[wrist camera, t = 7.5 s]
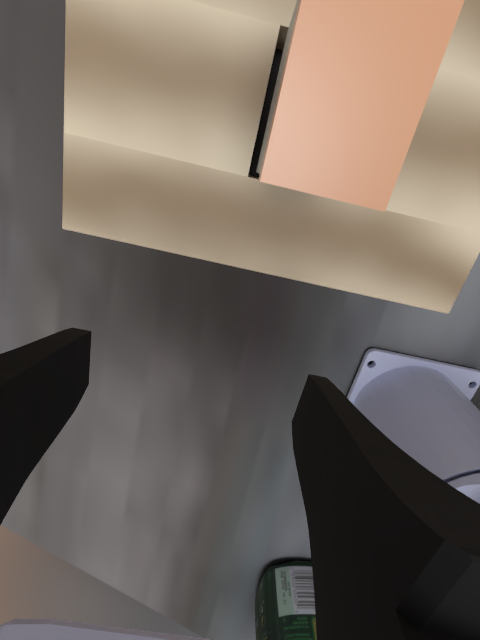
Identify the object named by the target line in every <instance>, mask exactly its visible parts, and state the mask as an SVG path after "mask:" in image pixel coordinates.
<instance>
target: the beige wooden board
mask: <svg viewBox="0 0 480 640" xmlns="http://www.w3.org/2000/svg"><path fill="white" fill-rule="evenodd" d="M296 3H297V0H66V27H65V91H64V156H63V220H62V229H66V230H71V231H75V232H80V233H84V234H89V235H93V236H98V237H102V238H107V239H112V240H116V241H121V242H125V243H130V244H134V245H139V246H143V247H148V248H152V249H157V250H161V251H166V252H170V253H175V254H180V255H184V256H189V257H193V258H198V259H202V260H207V261H211V262H216V263H220V264H225V265H229V266H234V267H239V268H243V269H248V270H252V271H257V272H261V273H266V274H270V275H275V276H279V277H284V278H288V279H293V280H297V281H302V282H307V283H311V284H316V285H320V286H325V287H329V288H334V289H338V290H343V291H347V292H352V293H356V294H361V295H366V296H370V297H375V298H379V299H384V300H388V301H393V302H397V303H402V304H406V305H411V306H415V307H420V308H424V309H429V310H434V311H438V312H443V313H447V314H449V312H450V310H451V308H452V306H453V304H454V302H455V300H456V298H457V296H458V294H459V292H460V290H461V288H462V286H463V284H464V282H465V280H466V278H467V276H468V274H469V272H470V270H471V268H472V266H473V264H474V262H475V260H476V258H477V256H478V254H479V252H480V0H465V1H464V3H463V6H462V9H461V11H460V14H459V17H458V19H457V22H456V25H455V27H454V30H453V33H452V35H451V38H450V41H449V43H448V46H447V49H446V51H445V54H444V57H443V59H442V62H441V64H440V67H439V70H438V72H437V75H436V78H435V80H434V83H433V86H432V88H431V91H430V94H429V96H428V99H427V102H426V104H425V107H424V110H423V112H422V115H421V118H420V120H419V123H418V125H417V128H416V131H415V133H414V136H413V139H412V141H411V144H410V147H409V149H408V152H407V155H406V157H405V160H404V163H403V165H402V168H401V171H400V173H399V176H398V179H397V181H396V184H395V187H394V189H393V192H392V194H391V197H390V200H389V202H388V205H387V208H386V210H385V212H384V211H380V210H376V209H371V208H367V207H363V206H359V205H355V204H351V203H346V202H342V201H338V200H334V199H330V198H326V197H321V196H317V195H313V194H309V193H305V192H301V191H297V190H292V189H288V188H284V187H280V186H276V185H272V184H267V183H263V182H260V181H259V178H258V177H254V176H250V175H248V173H249V169H250V164H251V159H252V155H253V150H254V146H255V141H256V136H257V132H258V127H259V122H260V118H261V113H262V108H263V104H264V99H265V94H266V90H267V85H268V80H269V76H270V71H271V66H272V62H273V57H274V52H275V48H276V49H279V50H283V49H284V44H285V40H286V35H287V31H288V28H289V25H290V22H291V18H292V15H293V12H294V9H295V6H296Z"/></svg>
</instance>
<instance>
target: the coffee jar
mask: <svg viewBox="0 0 480 640" xmlns="http://www.w3.org/2000/svg"><path fill="white" fill-rule="evenodd" d="M255 620H256V640H317V633H316V615H315V598H314V584H313V571H312V562H307V561H292V562H288V563H284V564H280V565H276V566H272V567H270V568H269V569H267V571H266V572H265V573H264V575H263V577H262V579H261V581H260V584H259V587H258V590H257V595H256V601H255Z"/></svg>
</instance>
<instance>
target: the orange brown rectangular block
mask: <svg viewBox="0 0 480 640" xmlns="http://www.w3.org/2000/svg"><path fill="white" fill-rule="evenodd" d="M464 1H465V0H297V3H296V6H295V9H294V12H293V15H292V18H291V22H290V25H289V28H288V31H287V35H286V40H285V44H284V49H283V53H282V58H281V62H280V67H279V71H278V76H277V80H276V85H275V89H274V94H273V98H272V103H271V107H270V112H269V116H268V121H267V125H266V130H265V134H264V139H263V143H262V148H261V152H260V157H259V161H258V166H257V170H256V172H257V173H259V174H260V175H259V181H260V182H263V183H267V184H272V185H276V186H280V187H284V188H288V189H292V190H297V191H301V192H305V193H309V194H313V195H317V196H321V197H326V198H330V199H334V200H338V201H342V202H346V203H351V204H355V205H359V206H363V207H367V208H371V209H376V210H380V211H384V212H385V210H386V208H387V205H388V202H389V200H390V197H391V194H392V192H393V189H394V187H395V184H396V181H397V179H398V176H399V173H400V171H401V168H402V165H403V163H404V160H405V157H406V155H407V152H408V149H409V147H410V144H411V141H412V139H413V136H414V133H415V131H416V128H417V125H418V123H419V120H420V118H421V115H422V112H423V110H424V107H425V104H426V102H427V99H428V96H429V94H430V91H431V88H432V86H433V83H434V80H435V78H436V75H437V72H438V70H439V67H440V64H441V62H442V59H443V57H444V54H445V51H446V49H447V46H448V43H449V41H450V38H451V35H452V33H453V30H454V27H455V25H456V22H457V19H458V17H459V14H460V11H461V9H462V6H463V3H464Z"/></svg>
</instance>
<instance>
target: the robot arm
mask: <svg viewBox="0 0 480 640" xmlns="http://www.w3.org/2000/svg"><path fill="white" fill-rule="evenodd" d="M90 348H91V331H86V330H81V329H76V328H69V329H66V330H63V331H60V332H58V333H55V334H52V335H50V336H47V337H45V338H42V339H40V340H37V341H34V342H32V343H29V344H27V345H24V346H22V347H19V348H16V349H14V350H11V351H8V352H5V353H2V354H0V525H1V523H2V521H3V519H4V517H5V516H6V514H7V512H8V510H9V509H10V507H11V505H12V503H13V502H14V500H15V498H16V496H17V495H18V493H19V491H20V489H21V488H22V486H23V484H24V483H25V481H26V479H27V478H28V476H29V475H30V473H31V472H32V470H33V469H34V467H35V466H36V465H37V463H38V462H39V460H40V459H41V458H42V456H43V455H44V453H45V452H46V451H47V449H48V448H49V446H50V445H51V444H52V442H53V441H54V439H55V438H56V437H57V435H58V434H59V432H60V431H61V430H62V428H63V427H64V425H65V424H66V423H67V421H68V420H69V418H70V417H71V415H72V414H73V412H74V411H75V409H76V408H77V406H78V404H79V402H80V400H81V398H82V396H83V394H84V392H85V390H86V388H87V386H88V384H89V366H90ZM370 361H374V362H373V363H372V364H370V365H368V362H370ZM471 382H473V383H472V384H470V385H469V383H471ZM479 385H480V371H479V370H477V369H472V368H467V367H462V366H458V365H453V364H448V363H443V362H438V361H434V360H429V359H424V358H419V357H415V356H410V355H405V354H400V353H395V352H391V351H386V350H381V349H376V348H372V349H369V350H368V351H367V352H366V353H365V355H364V358H363V360H362V362H361V365H360V367H359V369H358V372H357V374H356V377H355V379H354V381H353V384H352V386H351V388H350V391H349V393H348V396H347V397H346V396H345V395H344V394H343V393H342V392H341V391H340V390H339V389H338V388H337V387H336V386H335V385H334V384H333V383H332V382H331V381H330V380H328V379H327V378H325V377H320V376H315V375H310V374H309V375H308V378H307V381H306V384H305V386H304V389H303V392H302V395H301V398H300V400H299V403H298V406H297V409H296V412H295V414H294V417H293V420H292V437H293V450H294V455H295V460H296V466H297V471H298V476H299V481H300V486H301V491H302V495H303V500H304V505H305V510H306V516H307V522H308V529H309V539H310V549H311V559H312V571H313V584H314V598H315V615H316V633H317V640H480V411H479V409H478V408H477V407H476V406H475V405H474V404H473V403H472V402H471V401H470V400H471V399H472V397H473V395H474V394H475V392H476V390H477V389H478V387H479ZM0 640H212V639H205V638H197V637H189V636H182V635H173V634H166V633H159V632H150V631H143V630H136V629H128V628H120V627H113V626H104V625H97V624H90V623H82V622H74V621H66V620H58V619H14V620H12V621H9V622H7V623H4V624H2V625H0Z"/></svg>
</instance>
